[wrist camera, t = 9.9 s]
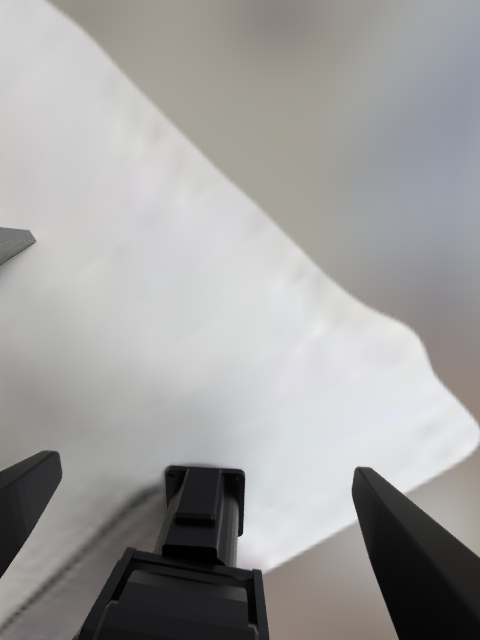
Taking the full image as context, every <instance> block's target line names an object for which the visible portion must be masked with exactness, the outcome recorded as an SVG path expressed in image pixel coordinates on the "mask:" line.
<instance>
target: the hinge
mask: <svg viewBox="0 0 480 640" xmlns="http://www.w3.org/2000/svg"><path fill="white" fill-rule="evenodd" d="M34 242H36V240H35V239H34V237H33V236H32V234H31V233H30V231H29V230H20V229H11V228H2V227H0V264H2V263H3V262H5V261H7V260H8V259H10V258H11V257H13V256H14V255H16V254H17V253H19V252H20V251H22V250H23V249H25V248H27V247H28V246H30V245H31V244H33V243H34Z"/></svg>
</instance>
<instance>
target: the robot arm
mask: <svg viewBox="0 0 480 640" xmlns="http://www.w3.org/2000/svg"><path fill="white" fill-rule="evenodd" d="M170 472H172V473H174V474H172V473H170ZM237 476H241V477H237ZM165 477H166V499H167V513H166V516H165V519H164V522H163V525H162V528H161V531H160V534H159V537H158V540H157V543H156V546H155V549H154V552H153V553H149V552H144V551H138V550H136V548H131V547H127V549H126V551H125V553H124V554H123V556H122V558H121V560H118V562H117V564H116V566H115V568H114V569H113V571H112V573H111V575H110V577H109V578H108V580H107V582H106V584H105V586H104V587H103V589H102V591H101V593H100V595H99V596H98V598H97V600H96V602H95V604H94V605H93V607H92V609H91V611H90V613H89V615H88V616H87V618H86V620H85V622H84V623H83V625H82V626H81V628H80V629H79V630H78V632H77V633H76V634H75V636H74V637H73V639H72V640H269V631H268V623H267V614H266V605H265V597H264V589H263V580H262V572H261V570H258V569H253V570H247V569H241V568H236V561H237V540H238V537H240V536H241V535H242V534H243V520H244V493H245V473H244V471H242V470H236V469H218V468H200V467H182V466H170V467H168V469H167V471H166V474H165ZM61 479H62V467H61V460H60V454H59V453H58V452H57V451H49V450H45V451H41V452H39V453H37V454H35V455H33V456H31V457H29V458H27V459H25V460H23V461H21V462H19V463H17V464H15V465H13V466H11V467H9V468H7V469H5V470H3V471H1V472H0V578H1V577H2V576H3V574H4V573H5V571H6V570H7V568H8V567H9V565H10V564H11V562H12V561H13V559H14V558H15V556H16V555H17V553H18V552H19V551H20V549H21V548H22V546H23V545H24V543H25V541H26V540H27V538H28V537H29V535H30V534H31V532H32V530H33V529H34V527H35V525H36V523H37V522H38V520H39V518H40V516H41V515H42V513H43V511H44V509H45V508H46V506H47V504H48V502H49V501H50V499H51V497H52V496H53V494H54V492H55V490H56V489H57V487H58V485H59V483H60V481H61ZM352 498H353V502H354V505H355V509H356V513H357V516H358V520H359V524H360V527H361V531H362V535H363V538H364V542H365V545H366V549H367V552H368V556H369V559H370V562H371V565H372V568H373V571H374V574H375V576H376V579H377V582H378V584H379V587H380V590H381V592H382V595H383V598H384V600H385V603H386V606H387V608H388V611H389V614H390V617H391V619H392V622H393V625H394V627H395V630H396V633H397V635H398V638H399V640H480V557H478V556H477V555H476V554H475V553H474V552H472V551H471V550H470V549H469V548H468V547H466V546H465V545H464V544H463V543H462V542H460V541H459V540H458V539H457V538H456V537H454V536H453V535H452V534H451V533H449V532H448V531H447V530H446V529H445V528H443V527H442V526H441V525H440V524H439V523H437V522H436V521H435V520H434V519H432V518H431V517H430V516H429V515H428V514H426V513H425V512H424V511H423V510H422V509H420V508H419V507H418V506H417V505H416V504H414V503H413V502H412V501H411V500H409V499H408V498H407V497H406V496H405V495H403V494H402V493H401V492H400V491H399V490H397V489H396V488H395V487H394V486H392V485H391V484H390V483H389V482H388V481H386V480H385V479H384V478H383V477H382V476H380V475H379V474H378V473H377V472H376V471H374V470H373V469H372V468H370V467H356V468H355V471H354V478H353V485H352Z"/></svg>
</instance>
